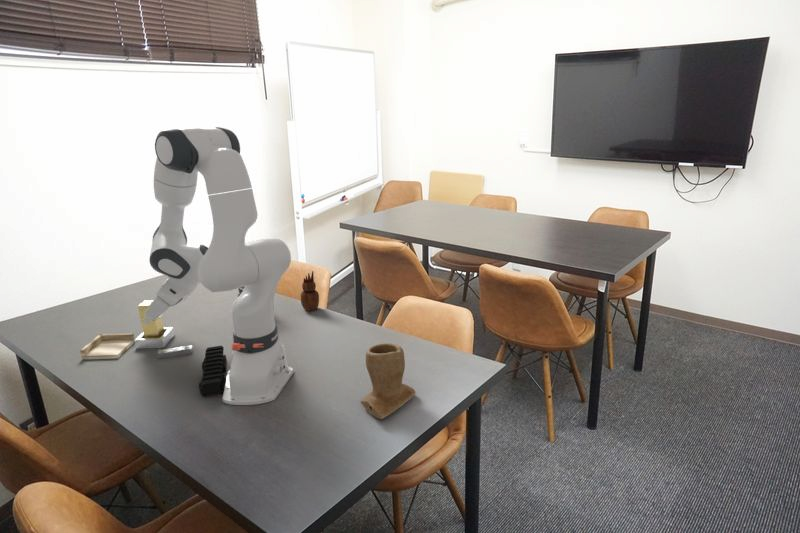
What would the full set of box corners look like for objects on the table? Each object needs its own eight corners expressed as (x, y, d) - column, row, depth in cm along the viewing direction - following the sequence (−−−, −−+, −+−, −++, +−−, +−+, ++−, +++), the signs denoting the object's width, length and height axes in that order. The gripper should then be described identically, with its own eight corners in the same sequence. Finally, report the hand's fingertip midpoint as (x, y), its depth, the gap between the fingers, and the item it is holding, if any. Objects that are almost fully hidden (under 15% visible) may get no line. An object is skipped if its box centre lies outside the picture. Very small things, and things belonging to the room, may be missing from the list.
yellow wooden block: (159, 344, 159) (151, 305, 155) (146, 345, 159) (138, 305, 154) (165, 338, 163) (158, 300, 159) (152, 338, 163) (144, 300, 159)
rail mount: (204, 363, 148) (201, 348, 146) (226, 359, 149) (224, 345, 148) (199, 402, 128) (196, 385, 127) (225, 397, 130) (222, 381, 128)
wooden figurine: (321, 306, 186) (318, 269, 182) (317, 312, 181) (314, 274, 176) (304, 305, 187) (301, 269, 182) (299, 312, 182) (296, 274, 177)
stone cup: (387, 381, 135) (386, 333, 130) (421, 396, 128) (421, 346, 123) (348, 407, 124) (345, 355, 119) (383, 425, 117) (381, 370, 112)
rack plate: (118, 358, 151) (116, 349, 150) (82, 359, 151) (80, 350, 150) (135, 341, 161) (133, 333, 160) (101, 342, 161) (99, 334, 160)
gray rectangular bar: (193, 350, 155) (192, 345, 155) (192, 354, 153) (191, 348, 152) (159, 355, 153) (157, 350, 152) (157, 359, 150) (156, 353, 150)
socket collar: (163, 347, 157) (162, 339, 156) (136, 348, 157) (134, 340, 156) (174, 335, 165) (173, 327, 164) (148, 336, 165) (147, 328, 164)
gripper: (182, 269, 164) (158, 297, 167) (156, 292, 145) (129, 323, 148) (198, 281, 166) (173, 308, 169) (173, 305, 147) (146, 335, 150)
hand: (152, 315), depth 158 cm, fingers open, 8 cm apart
